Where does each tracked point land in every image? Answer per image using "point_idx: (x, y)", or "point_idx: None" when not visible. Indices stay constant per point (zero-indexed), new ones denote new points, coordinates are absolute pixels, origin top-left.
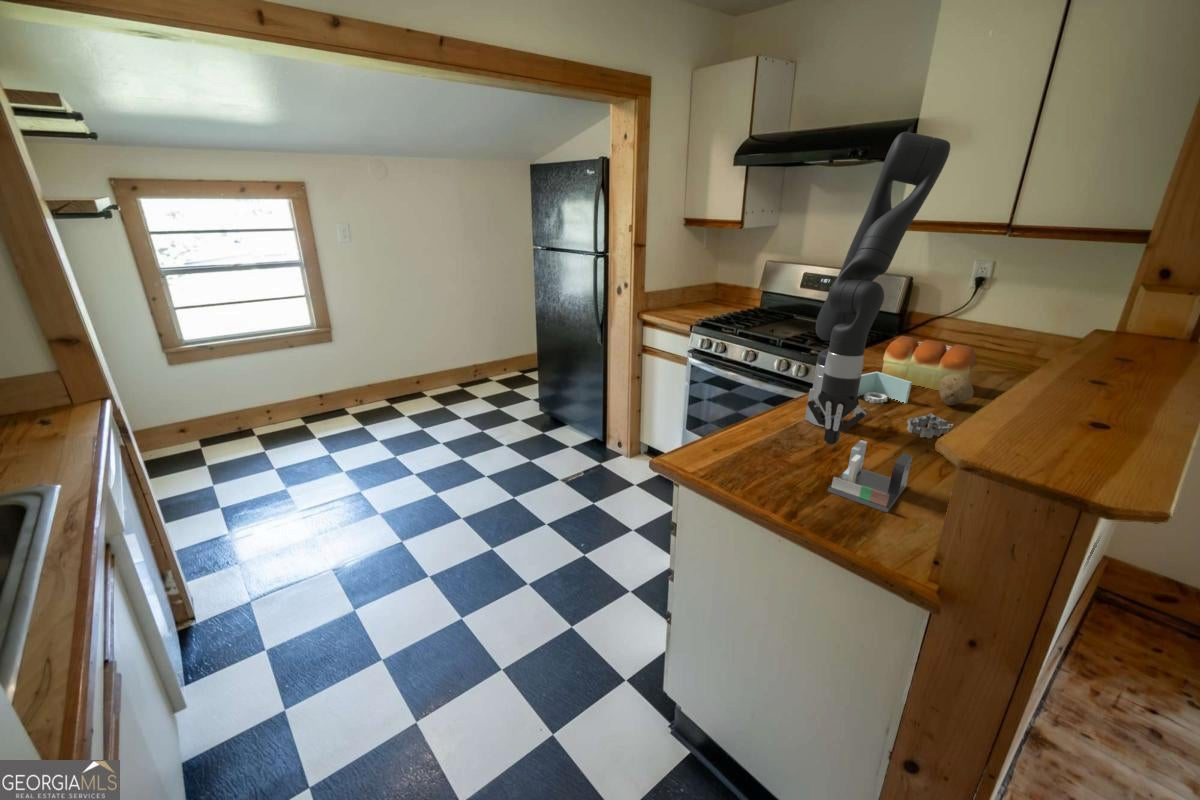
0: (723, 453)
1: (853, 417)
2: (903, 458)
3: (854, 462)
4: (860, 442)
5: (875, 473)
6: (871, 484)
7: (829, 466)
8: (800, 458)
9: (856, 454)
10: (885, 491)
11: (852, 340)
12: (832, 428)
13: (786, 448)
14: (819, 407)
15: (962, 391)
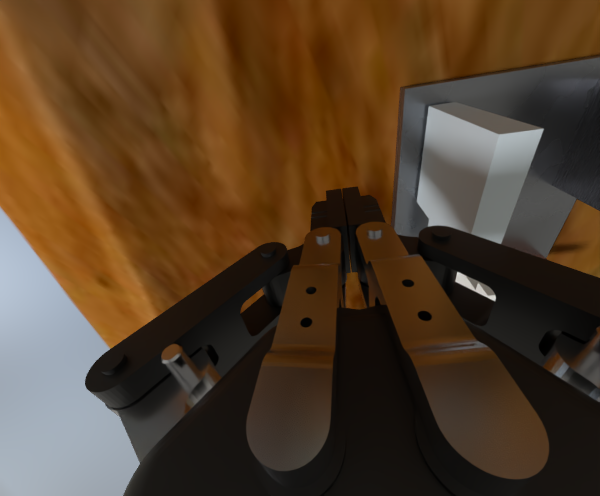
0: (127, 282)
1: (528, 327)
2: None
3: None
4: (498, 171)
5: (511, 78)
6: None
7: (335, 134)
8: (240, 159)
9: (488, 296)
10: (543, 190)
11: None
12: (344, 248)
13: (158, 125)
14: (203, 330)
15: None
